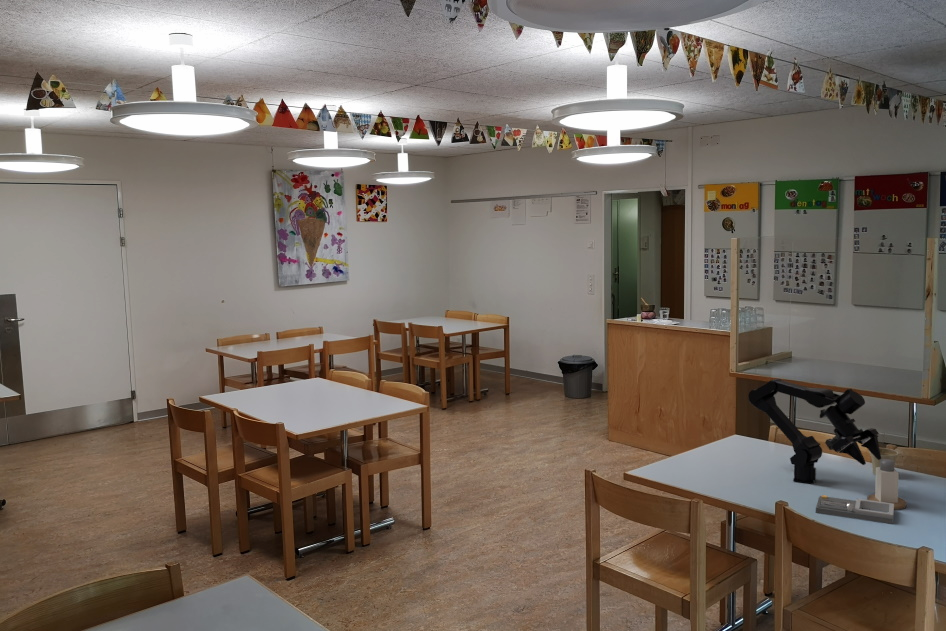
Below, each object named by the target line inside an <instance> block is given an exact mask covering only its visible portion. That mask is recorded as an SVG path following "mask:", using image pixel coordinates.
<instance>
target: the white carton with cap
mask: <svg viewBox="0 0 946 631" xmlns="http://www.w3.org/2000/svg"><path fill="white" fill-rule="evenodd" d="M894 463H895V464H896V461H893V460H890V459H881V460H880V467H876V475H875V486H874V487H875V489H874V492H875V493H874V494H875V497H876V498H877V499H878V500H879V501H880V502H885V503H898V497H899V475H900V474H899V471H897V470H896V469H895V466H894Z"/></svg>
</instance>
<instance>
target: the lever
mask: <svg viewBox="0 0 946 631" xmlns="http://www.w3.org/2000/svg"><path fill="white" fill-rule="evenodd" d="M817 503H818V506H821V504H827V505H834V506H841V507H847V511H848V512H853V503H847V504H844V503H837V502H829V501H822V500H819V499H818V501H817Z"/></svg>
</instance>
